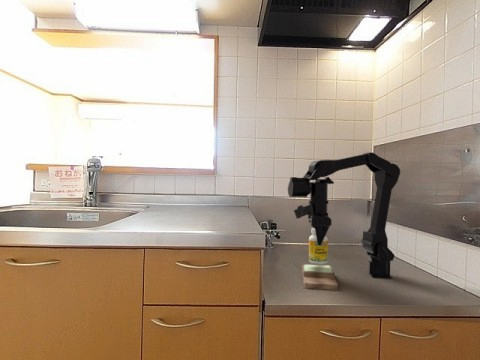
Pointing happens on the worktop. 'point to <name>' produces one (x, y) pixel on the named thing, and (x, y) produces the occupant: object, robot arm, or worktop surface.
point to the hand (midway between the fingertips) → (318, 242)
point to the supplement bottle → (318, 249)
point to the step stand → (319, 277)
